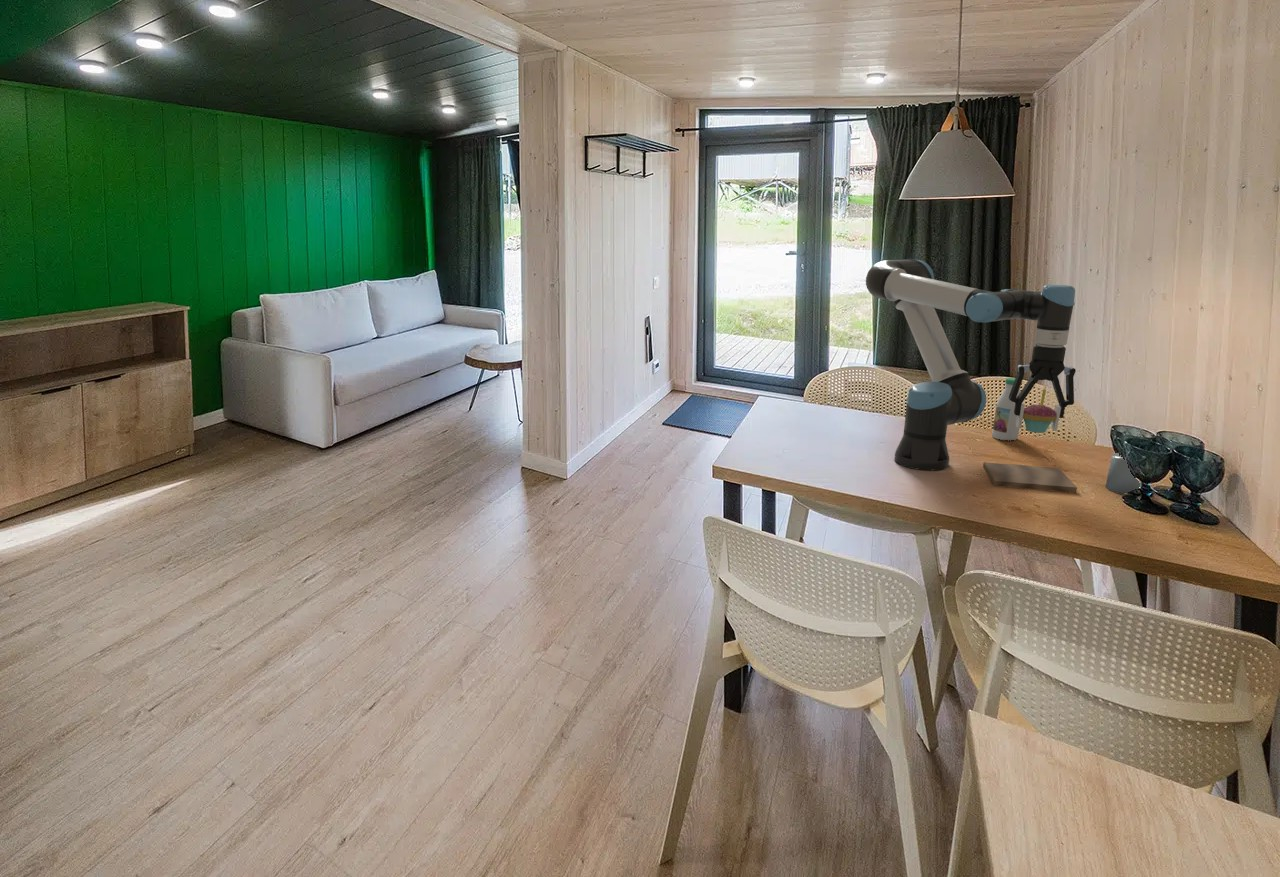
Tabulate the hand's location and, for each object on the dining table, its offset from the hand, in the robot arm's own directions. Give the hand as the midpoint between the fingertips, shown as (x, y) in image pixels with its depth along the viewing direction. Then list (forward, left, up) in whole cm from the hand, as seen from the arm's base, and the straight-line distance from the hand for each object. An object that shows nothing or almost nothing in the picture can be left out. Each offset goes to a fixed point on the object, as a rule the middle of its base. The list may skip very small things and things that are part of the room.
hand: (1036, 427), depth 196 cm
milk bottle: (+2, +41, -15) cm, 44 cm away
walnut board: (0, 0, -15) cm, 15 cm away
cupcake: (0, 0, -1) cm, 1 cm away
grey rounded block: (+23, -2, -15) cm, 27 cm away
